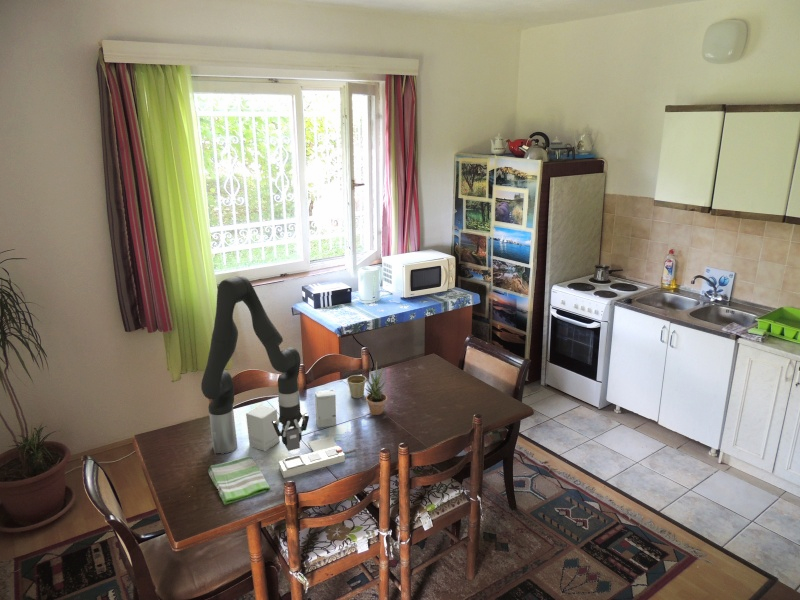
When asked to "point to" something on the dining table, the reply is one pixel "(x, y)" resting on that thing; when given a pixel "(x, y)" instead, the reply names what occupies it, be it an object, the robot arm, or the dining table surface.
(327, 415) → the skincare box
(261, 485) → the dish towel
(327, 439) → the mat
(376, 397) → the potted plant
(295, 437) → the charger
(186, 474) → the dining table surface
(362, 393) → the flower pot
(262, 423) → the supplement box
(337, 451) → the power strip
